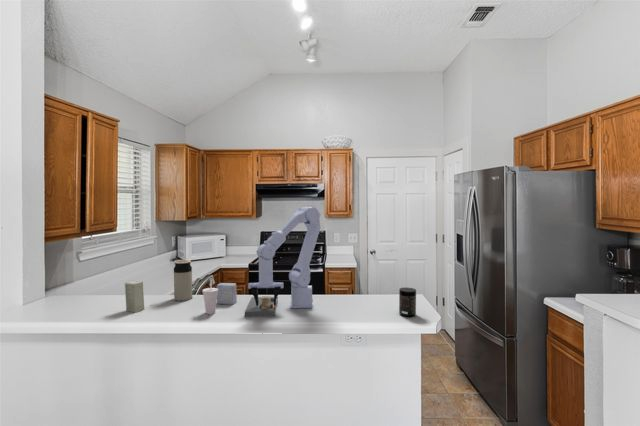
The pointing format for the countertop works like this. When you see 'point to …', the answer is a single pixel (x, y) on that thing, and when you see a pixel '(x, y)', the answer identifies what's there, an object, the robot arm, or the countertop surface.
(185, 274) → the travel mug
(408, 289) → the supplement container
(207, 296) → the smoothie
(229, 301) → the medicine box
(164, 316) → the countertop surface
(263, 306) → the tan rectangular block
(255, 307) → the dock
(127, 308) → the skincare box
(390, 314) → the countertop surface
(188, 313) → the countertop surface
